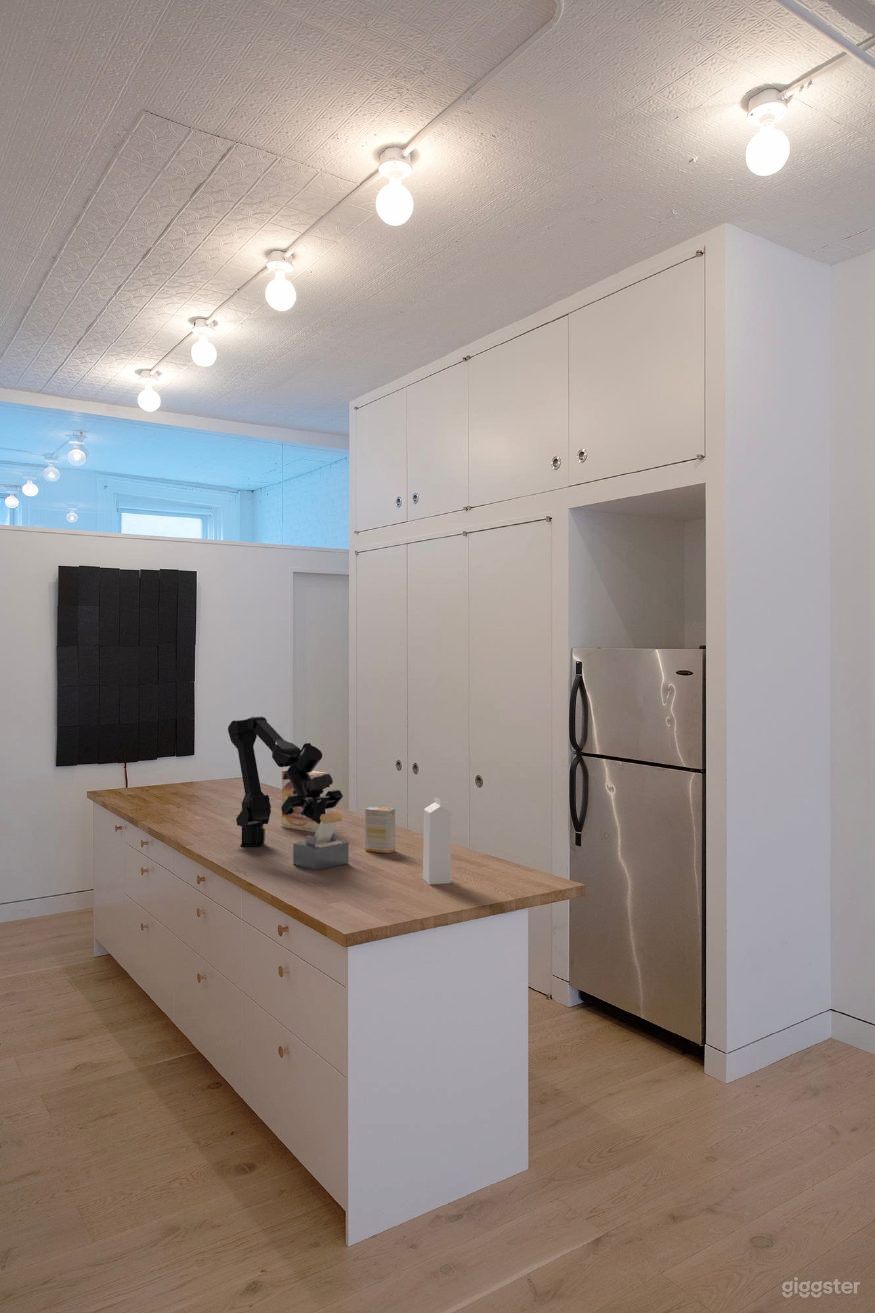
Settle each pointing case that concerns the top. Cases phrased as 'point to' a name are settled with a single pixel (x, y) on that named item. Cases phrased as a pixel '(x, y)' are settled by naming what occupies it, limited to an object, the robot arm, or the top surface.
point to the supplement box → (380, 829)
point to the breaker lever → (327, 826)
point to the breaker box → (320, 853)
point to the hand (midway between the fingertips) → (325, 826)
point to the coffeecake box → (296, 818)
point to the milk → (437, 844)
